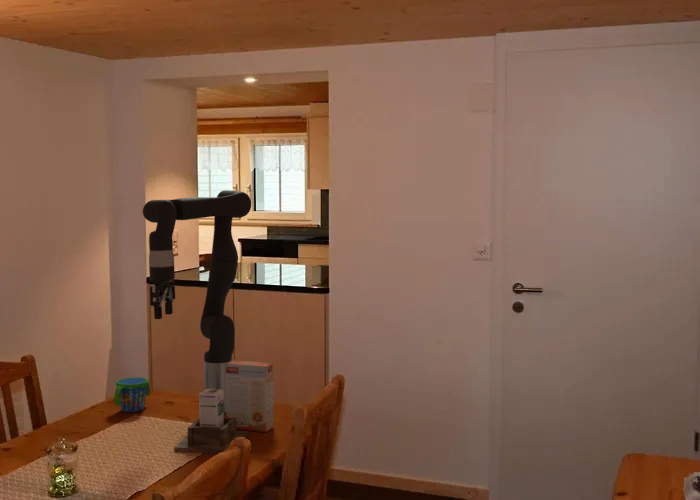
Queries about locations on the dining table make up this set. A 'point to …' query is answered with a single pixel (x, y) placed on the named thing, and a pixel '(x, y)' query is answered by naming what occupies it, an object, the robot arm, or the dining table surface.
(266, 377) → the cracker box
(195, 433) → the socket holder
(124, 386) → the snack cup
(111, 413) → the dining table surface
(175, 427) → the dining table surface
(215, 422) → the syrup box
